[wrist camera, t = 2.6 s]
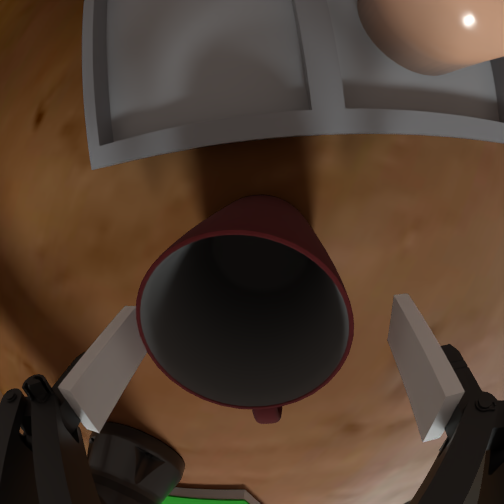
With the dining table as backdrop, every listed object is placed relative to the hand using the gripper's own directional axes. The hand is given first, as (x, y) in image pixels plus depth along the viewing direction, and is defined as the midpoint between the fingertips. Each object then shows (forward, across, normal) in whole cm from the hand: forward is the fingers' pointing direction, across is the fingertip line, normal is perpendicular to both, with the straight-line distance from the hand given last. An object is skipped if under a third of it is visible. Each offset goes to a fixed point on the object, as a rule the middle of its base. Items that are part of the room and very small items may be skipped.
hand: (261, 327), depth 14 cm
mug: (+8, 0, 0) cm, 9 cm away
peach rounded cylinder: (+8, +12, +18) cm, 23 cm away
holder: (+9, +4, +18) cm, 20 cm away
